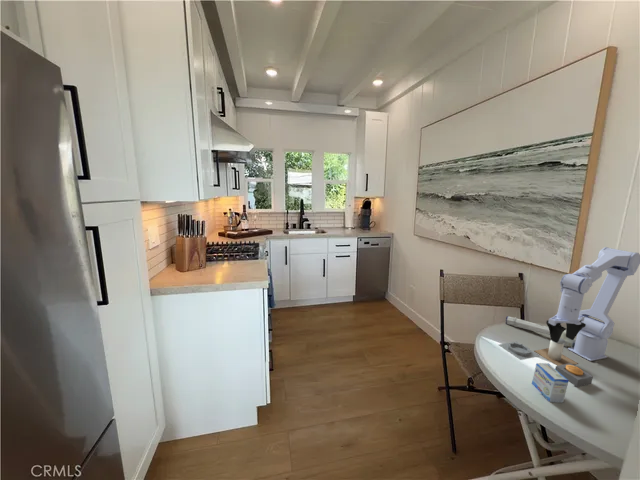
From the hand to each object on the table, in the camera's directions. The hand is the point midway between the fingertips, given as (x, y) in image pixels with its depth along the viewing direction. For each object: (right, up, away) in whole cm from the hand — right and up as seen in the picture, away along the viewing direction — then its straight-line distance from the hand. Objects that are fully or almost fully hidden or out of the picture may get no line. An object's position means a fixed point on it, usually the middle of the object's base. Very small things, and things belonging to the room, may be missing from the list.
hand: (562, 339), depth 100 cm
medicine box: (-16, -14, -12) cm, 24 cm away
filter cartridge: (+2, -9, +6) cm, 11 cm away
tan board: (+2, -9, +6) cm, 11 cm away
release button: (-1, -12, -5) cm, 13 cm away
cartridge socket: (-9, -8, +10) cm, 16 cm away
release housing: (-1, -12, -5) cm, 13 cm away
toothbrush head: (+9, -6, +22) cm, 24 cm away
